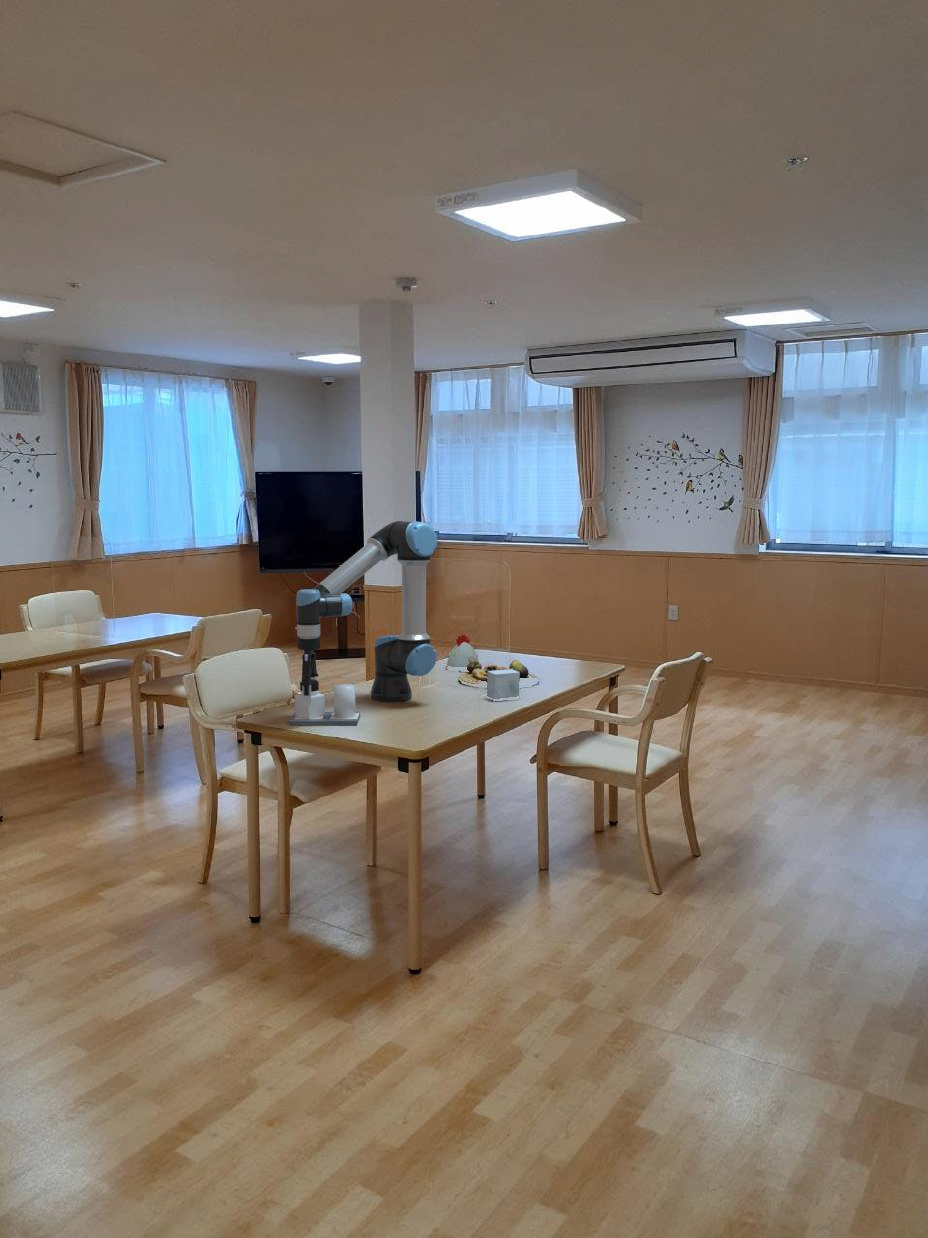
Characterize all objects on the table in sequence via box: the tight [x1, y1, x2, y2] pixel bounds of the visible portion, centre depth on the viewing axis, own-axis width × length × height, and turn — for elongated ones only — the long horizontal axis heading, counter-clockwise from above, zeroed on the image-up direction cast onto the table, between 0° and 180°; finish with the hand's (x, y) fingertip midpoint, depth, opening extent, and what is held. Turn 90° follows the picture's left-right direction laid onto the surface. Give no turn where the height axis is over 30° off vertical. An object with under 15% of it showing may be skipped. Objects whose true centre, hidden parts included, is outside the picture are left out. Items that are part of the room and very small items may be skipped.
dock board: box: [288, 711, 361, 727], centre depth 336 cm, size 22×14×2 cm, turn 91°
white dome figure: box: [446, 634, 480, 667], centre depth 431 cm, size 14×14×15 cm
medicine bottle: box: [294, 679, 326, 719], centre depth 335 cm, size 7×7×12 cm
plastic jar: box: [333, 683, 356, 718], centre depth 335 cm, size 7×7×10 cm
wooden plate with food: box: [458, 659, 539, 684], centre depth 404 cm, size 32×32×8 cm
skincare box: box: [486, 669, 520, 699], centre depth 370 cm, size 10×6×10 cm, turn 115°
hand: (309, 700), depth 335 cm, fingers open, 13 cm apart
